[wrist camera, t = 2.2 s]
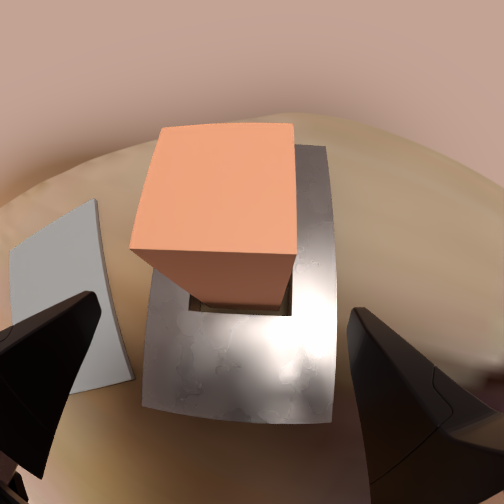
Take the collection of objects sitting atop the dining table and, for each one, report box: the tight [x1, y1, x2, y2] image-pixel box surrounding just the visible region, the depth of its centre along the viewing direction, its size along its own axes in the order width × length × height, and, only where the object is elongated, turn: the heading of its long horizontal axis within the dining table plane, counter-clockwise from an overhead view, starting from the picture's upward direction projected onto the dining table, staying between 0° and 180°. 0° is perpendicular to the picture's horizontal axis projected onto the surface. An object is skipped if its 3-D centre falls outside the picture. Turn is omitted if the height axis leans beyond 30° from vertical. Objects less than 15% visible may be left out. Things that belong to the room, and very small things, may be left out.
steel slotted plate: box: [142, 144, 337, 424], centre depth 19 cm, size 20×12×3 cm, turn 177°
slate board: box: [9, 198, 135, 394], centre depth 20 cm, size 17×14×1 cm
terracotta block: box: [129, 123, 297, 311], centre depth 14 cm, size 5×5×12 cm
